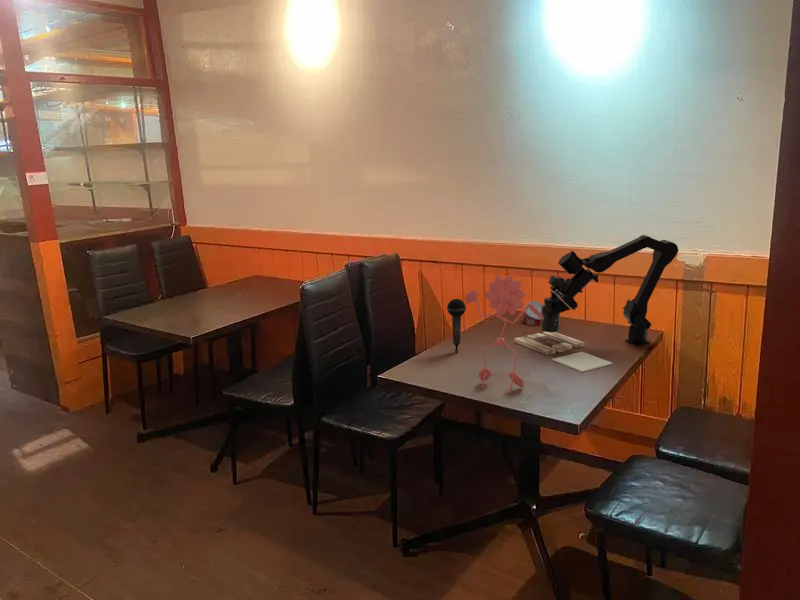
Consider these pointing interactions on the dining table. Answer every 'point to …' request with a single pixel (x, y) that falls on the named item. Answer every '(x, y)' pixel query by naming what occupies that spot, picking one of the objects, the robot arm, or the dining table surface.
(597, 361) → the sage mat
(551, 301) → the supplement bottle
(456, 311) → the microphone
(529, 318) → the canned food
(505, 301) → the figurine
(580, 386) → the dining table surface
